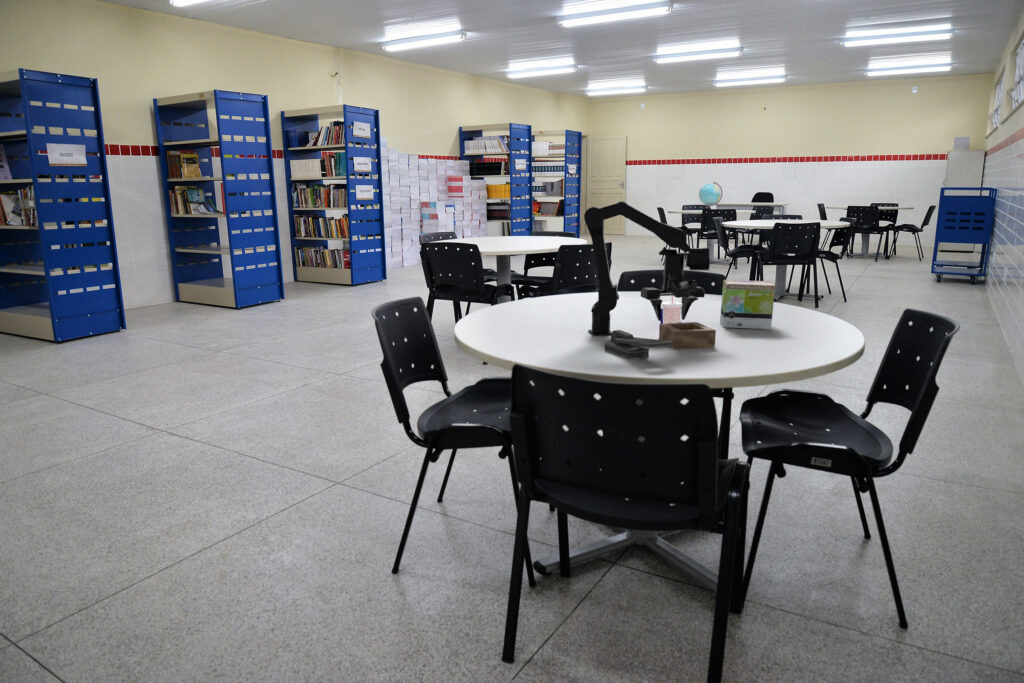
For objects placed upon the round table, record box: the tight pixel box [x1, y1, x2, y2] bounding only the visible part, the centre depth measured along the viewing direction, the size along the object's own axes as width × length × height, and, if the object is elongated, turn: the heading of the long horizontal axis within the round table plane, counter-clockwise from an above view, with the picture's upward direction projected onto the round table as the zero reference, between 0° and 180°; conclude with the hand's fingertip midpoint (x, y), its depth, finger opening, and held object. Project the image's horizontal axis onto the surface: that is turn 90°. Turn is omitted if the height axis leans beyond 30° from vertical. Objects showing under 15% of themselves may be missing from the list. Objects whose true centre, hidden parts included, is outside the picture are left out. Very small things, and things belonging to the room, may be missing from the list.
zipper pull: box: [604, 329, 674, 359], centre depth 185 cm, size 9×7×25 cm
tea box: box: [719, 279, 776, 331], centre depth 222 cm, size 15×10×15 cm
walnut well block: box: [658, 321, 717, 350], centre depth 199 cm, size 12×12×5 cm
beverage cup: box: [661, 296, 682, 324], centre depth 208 cm, size 6×6×14 cm
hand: (671, 320), depth 209 cm, fingers closed on beverage cup, 7 cm apart
